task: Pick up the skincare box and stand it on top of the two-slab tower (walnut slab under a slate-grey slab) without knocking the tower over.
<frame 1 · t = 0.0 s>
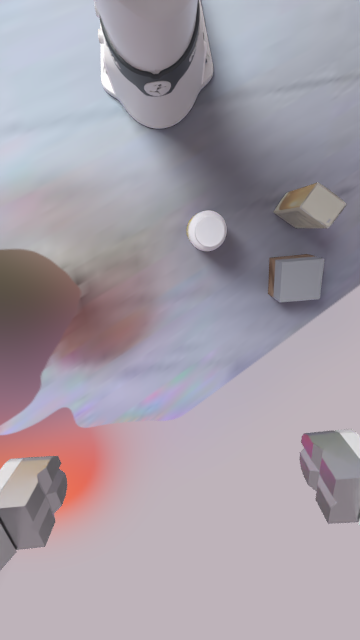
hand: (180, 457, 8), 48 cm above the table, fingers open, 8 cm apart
tower top: (293, 277, 52), point 3 cm above the table, touching tower base
skincare box: (290, 210, 50), on the table
supplement bottle: (202, 230, 51), on the table
tower base: (286, 274, 55), on the table, touching tower top
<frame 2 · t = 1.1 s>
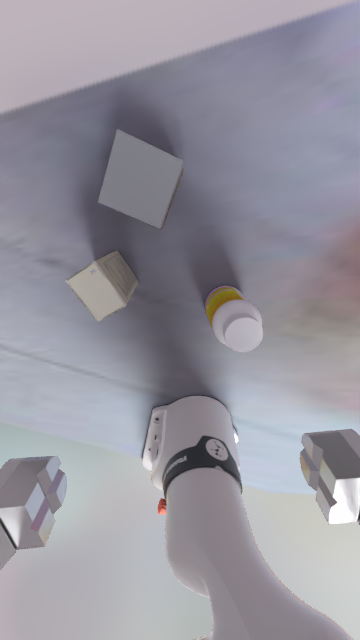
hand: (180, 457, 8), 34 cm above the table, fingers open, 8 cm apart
tower top: (143, 186, 33), point 3 cm above the table, touching tower base
skincare box: (118, 273, 40), on the table
supplement bottle: (224, 304, 42), on the table
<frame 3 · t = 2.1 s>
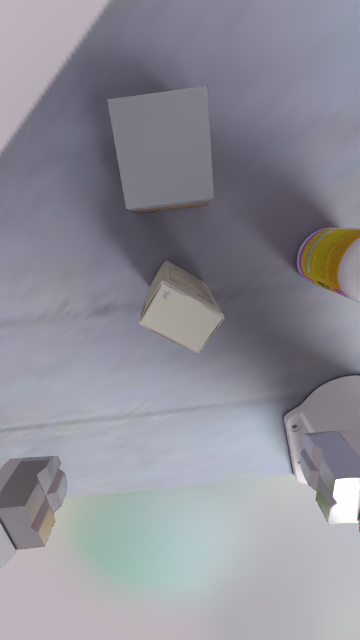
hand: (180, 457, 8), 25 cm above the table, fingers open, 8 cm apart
tower top: (165, 161, 24), point 3 cm above the table, touching tower base
skincare box: (178, 285, 32), on the table
supplement bottle: (320, 255, 31), on the table
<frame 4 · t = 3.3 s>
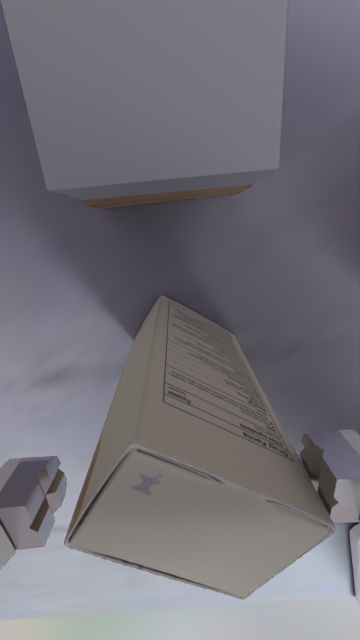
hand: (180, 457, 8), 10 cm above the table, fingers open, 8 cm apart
tower top: (157, 85, 10), point 3 cm above the table, touching tower base
skincare box: (185, 337, 18), on the table
tower base: (162, 122, 14), on the table, touching tower top
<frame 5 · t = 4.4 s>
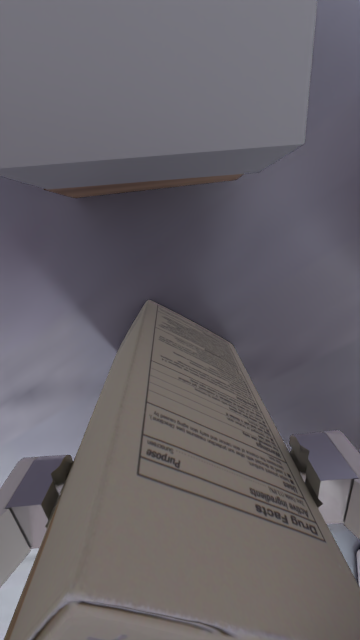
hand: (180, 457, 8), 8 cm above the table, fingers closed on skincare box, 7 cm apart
tower top: (138, 39, 8), point 3 cm above the table
skincare box: (177, 348, 16), on the table, touching gripper
tower base: (143, 90, 11), on the table
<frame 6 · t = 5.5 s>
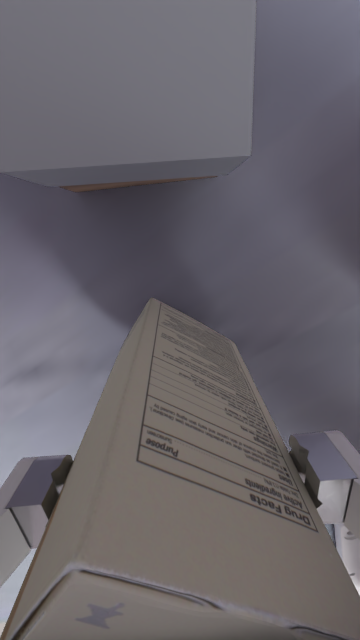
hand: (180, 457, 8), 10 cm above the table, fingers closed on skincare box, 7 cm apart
tower top: (125, 64, 10), point 3 cm above the table
skincare box: (179, 346, 16), point 2 cm above the table, touching gripper
tower base: (135, 98, 13), on the table
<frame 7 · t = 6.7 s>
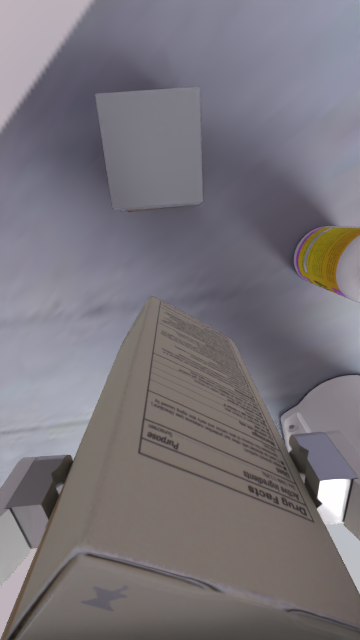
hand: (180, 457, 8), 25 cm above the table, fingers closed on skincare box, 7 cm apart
tower top: (155, 161, 24), point 3 cm above the table, touching tower base
skincare box: (179, 344, 16), point 16 cm above the table, touching gripper
supplement bottle: (317, 254, 30), on the table
when the fingers open (16 cm above the table, at t = 10.4 s): skincare box drops 1 cm, resting on tower top.
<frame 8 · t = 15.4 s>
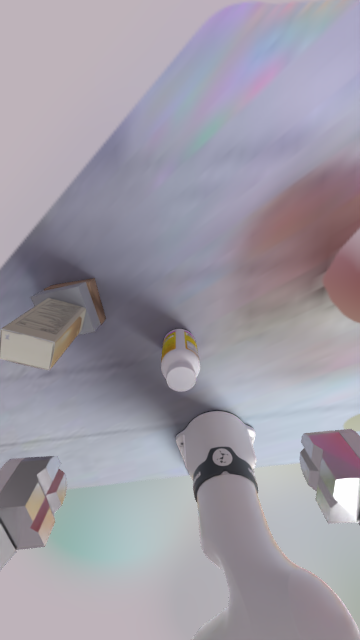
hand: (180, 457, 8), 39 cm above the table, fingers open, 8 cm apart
tower top: (71, 308, 44), point 3 cm above the table, touching skincare box, tower base
skincare box: (67, 314, 41), point 6 cm above the table, touching tower top
supplement bottle: (179, 342, 50), on the table
tower base: (80, 301, 47), on the table, touching tower top
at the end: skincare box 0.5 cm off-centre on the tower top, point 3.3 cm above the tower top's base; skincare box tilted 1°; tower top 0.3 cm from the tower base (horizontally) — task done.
